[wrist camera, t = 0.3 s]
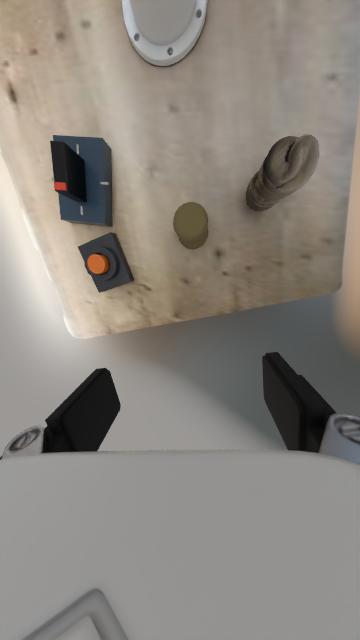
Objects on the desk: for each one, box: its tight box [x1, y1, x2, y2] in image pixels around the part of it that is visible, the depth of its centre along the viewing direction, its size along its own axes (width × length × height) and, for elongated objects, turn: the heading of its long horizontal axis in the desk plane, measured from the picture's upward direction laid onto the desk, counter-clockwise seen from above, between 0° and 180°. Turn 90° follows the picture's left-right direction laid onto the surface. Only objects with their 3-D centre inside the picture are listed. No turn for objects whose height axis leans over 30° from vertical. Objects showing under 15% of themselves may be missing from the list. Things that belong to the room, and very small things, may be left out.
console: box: [52, 135, 112, 227], centre depth 33 cm, size 13×11×3 cm
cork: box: [173, 202, 208, 249], centre depth 30 cm, size 6×6×11 cm
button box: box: [78, 233, 134, 293], centre depth 37 cm, size 10×8×4 cm
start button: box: [87, 254, 109, 274], centre depth 35 cm, size 4×4×2 cm
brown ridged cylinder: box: [246, 135, 320, 211], centre depth 26 cm, size 6×6×15 cm
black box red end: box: [50, 141, 87, 202], centre depth 30 cm, size 6×2×5 cm, turn 174°
